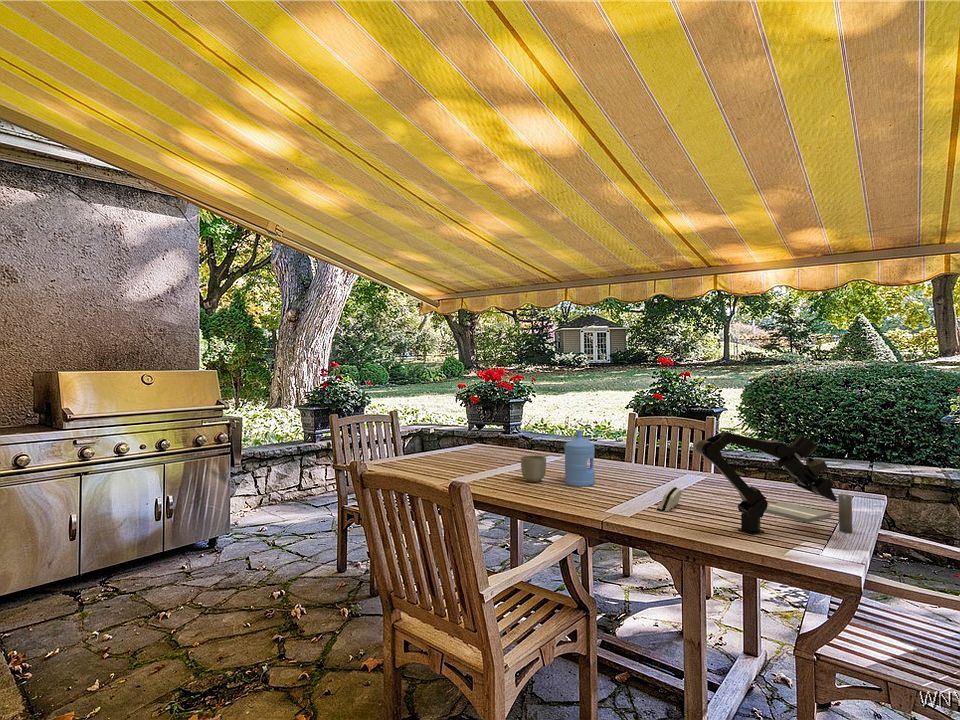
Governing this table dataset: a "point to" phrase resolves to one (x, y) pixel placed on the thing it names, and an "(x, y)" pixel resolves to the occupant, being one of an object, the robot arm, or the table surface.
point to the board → (796, 512)
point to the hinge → (670, 498)
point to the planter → (533, 467)
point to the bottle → (845, 512)
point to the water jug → (579, 461)
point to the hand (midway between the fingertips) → (827, 497)
